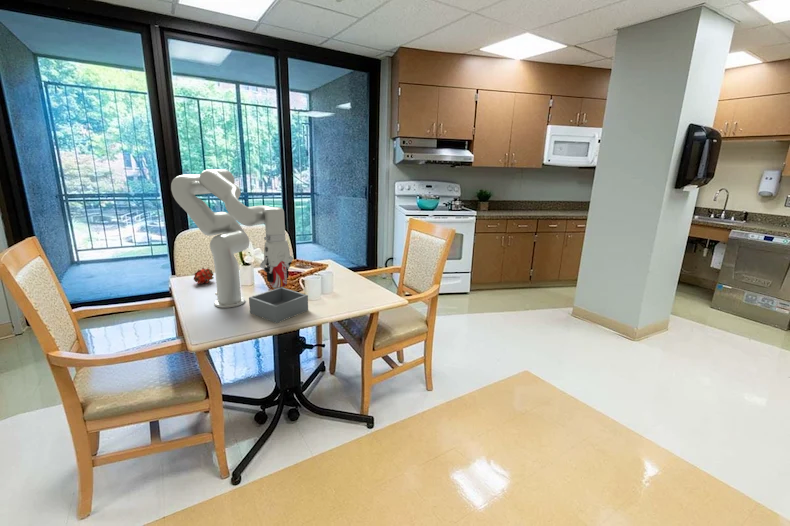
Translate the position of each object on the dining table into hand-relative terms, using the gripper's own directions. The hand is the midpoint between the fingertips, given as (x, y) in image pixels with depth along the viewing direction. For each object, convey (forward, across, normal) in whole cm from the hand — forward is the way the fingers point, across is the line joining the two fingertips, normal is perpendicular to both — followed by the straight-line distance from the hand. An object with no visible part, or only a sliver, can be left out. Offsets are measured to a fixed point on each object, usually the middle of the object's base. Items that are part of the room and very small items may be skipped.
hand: (278, 279), depth 153 cm
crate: (+15, 0, 0) cm, 15 cm away
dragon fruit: (+14, +1, +60) cm, 62 cm away
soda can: (+3, 0, 0) cm, 3 cm away
